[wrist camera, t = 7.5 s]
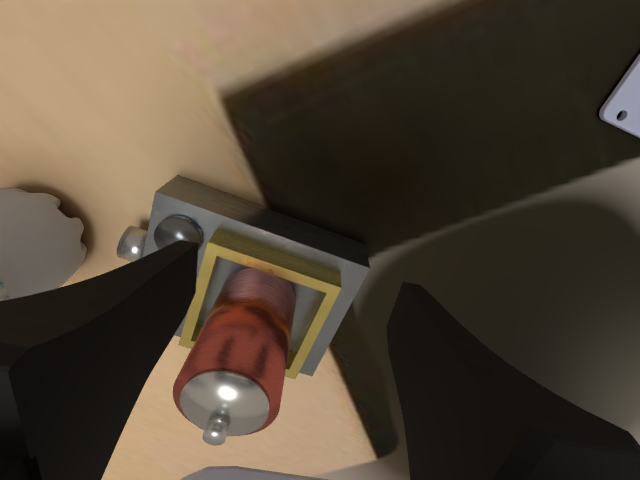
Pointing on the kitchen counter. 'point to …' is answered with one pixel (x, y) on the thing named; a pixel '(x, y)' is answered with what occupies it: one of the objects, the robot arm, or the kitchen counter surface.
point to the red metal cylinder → (239, 358)
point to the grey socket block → (255, 261)
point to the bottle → (36, 244)
